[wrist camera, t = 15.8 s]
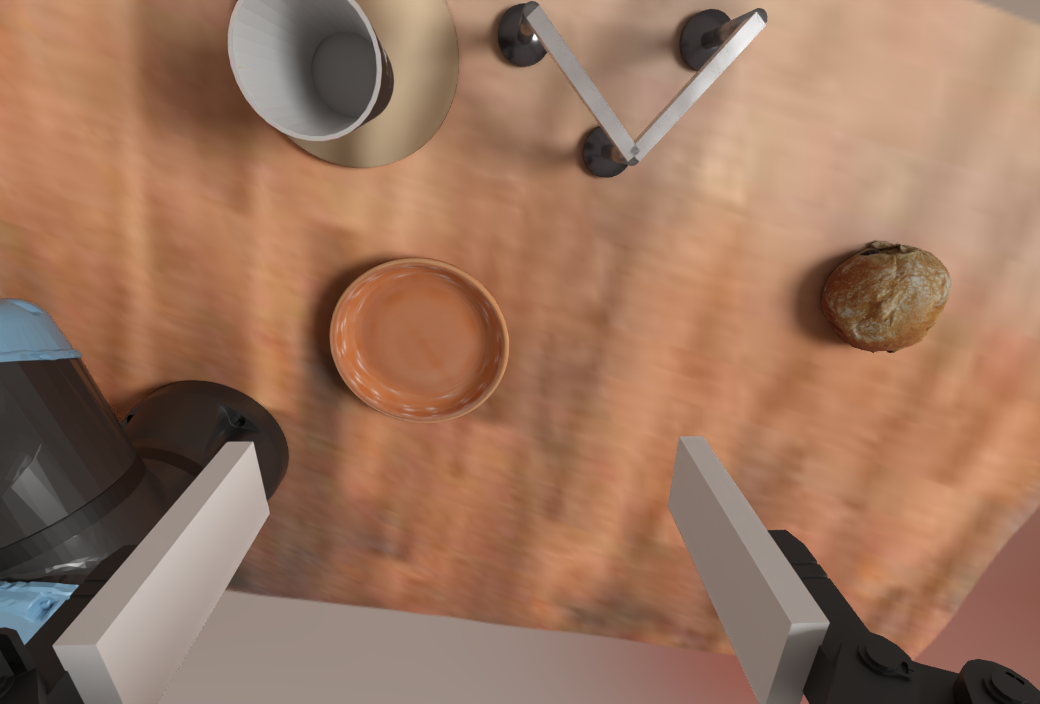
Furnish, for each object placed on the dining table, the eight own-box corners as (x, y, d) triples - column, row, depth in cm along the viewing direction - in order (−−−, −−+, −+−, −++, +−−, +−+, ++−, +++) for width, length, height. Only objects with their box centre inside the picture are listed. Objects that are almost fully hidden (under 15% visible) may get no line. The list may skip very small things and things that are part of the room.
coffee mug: (415, 136, 40) (391, 138, 31) (305, 140, 40) (248, 143, 31) (396, -44, 36) (361, -104, 26) (271, -41, 35) (192, -100, 26)
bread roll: (891, 233, 50) (947, 211, 42) (938, 328, 49) (1004, 325, 41) (792, 276, 51) (829, 263, 43) (837, 369, 51) (882, 374, 43)
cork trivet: (264, 165, 41) (260, 166, 41) (221, -82, 35) (215, -87, 34) (461, 168, 42) (461, 169, 41) (455, -73, 36) (454, -78, 35)
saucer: (302, 329, 47) (290, 341, 45) (423, 213, 44) (418, 218, 41) (425, 436, 53) (421, 453, 50) (542, 340, 49) (545, 353, 46)
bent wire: (498, 175, 42) (498, 186, 34) (498, 4, 38) (498, -31, 29) (709, 178, 43) (759, 189, 35) (735, 11, 39) (801, -21, 30)
